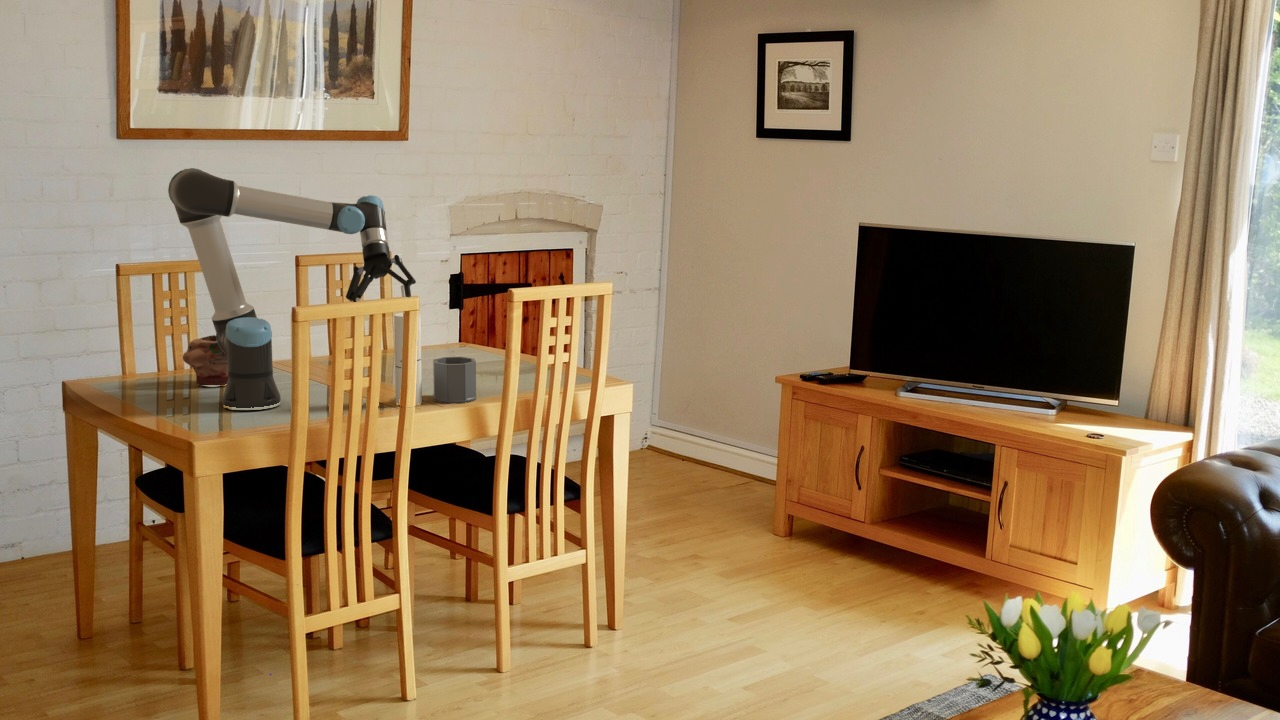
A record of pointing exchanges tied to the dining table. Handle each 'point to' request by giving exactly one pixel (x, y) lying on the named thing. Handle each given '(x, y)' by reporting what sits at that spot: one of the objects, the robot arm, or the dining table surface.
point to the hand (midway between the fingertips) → (384, 314)
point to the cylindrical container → (398, 356)
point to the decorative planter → (207, 361)
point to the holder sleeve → (454, 379)
